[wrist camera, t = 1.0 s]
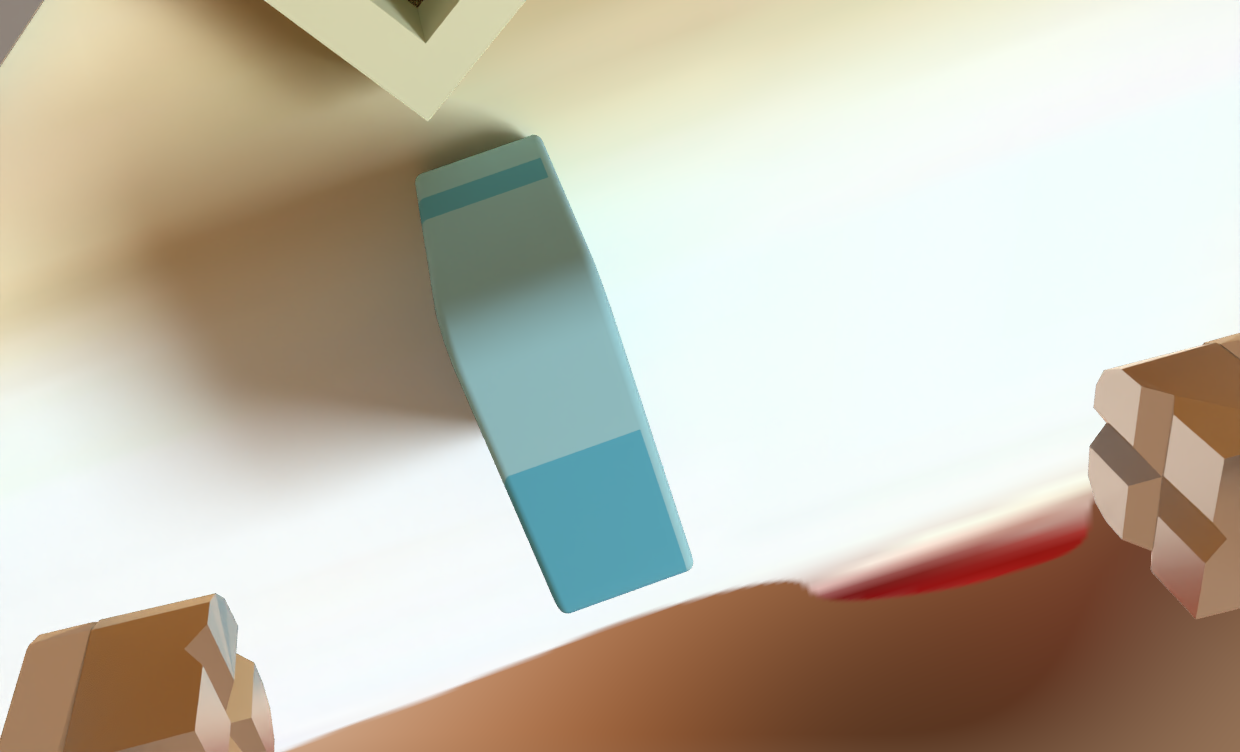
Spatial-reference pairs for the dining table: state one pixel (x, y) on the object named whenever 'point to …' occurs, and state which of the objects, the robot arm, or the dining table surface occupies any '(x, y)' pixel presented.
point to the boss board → (14, 22)
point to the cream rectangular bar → (406, 40)
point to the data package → (548, 374)
